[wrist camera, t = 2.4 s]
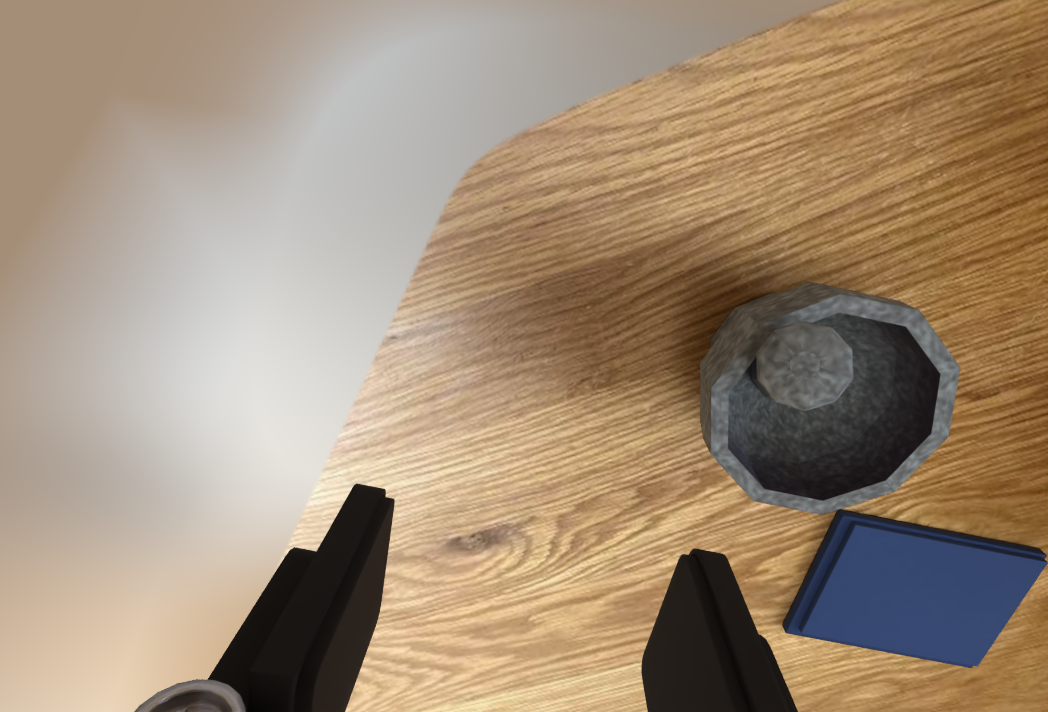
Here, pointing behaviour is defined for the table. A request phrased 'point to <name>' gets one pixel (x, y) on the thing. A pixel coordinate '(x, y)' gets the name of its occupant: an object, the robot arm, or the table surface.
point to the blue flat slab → (912, 589)
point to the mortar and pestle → (825, 396)
